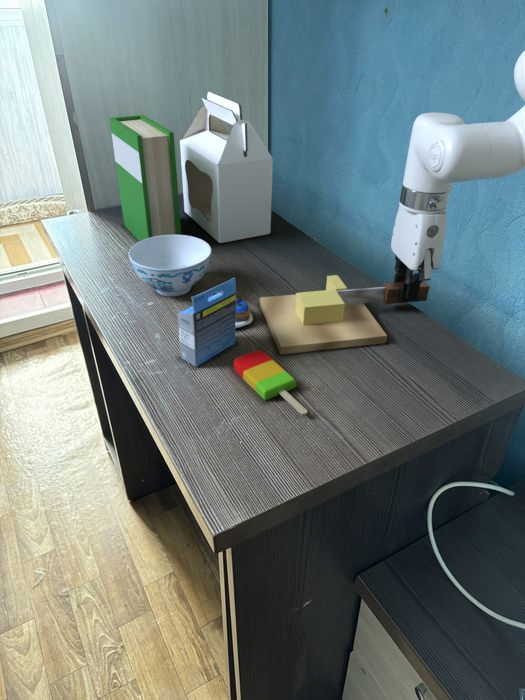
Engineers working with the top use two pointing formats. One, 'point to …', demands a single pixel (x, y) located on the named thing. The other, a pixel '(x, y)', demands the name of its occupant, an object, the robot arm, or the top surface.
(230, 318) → the label tape box
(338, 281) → the butter slice
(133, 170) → the hardback book
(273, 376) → the popsicle
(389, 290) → the knife
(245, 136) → the gable box
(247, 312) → the dessert
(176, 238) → the chinaware
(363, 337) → the cutting board
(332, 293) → the butter block
